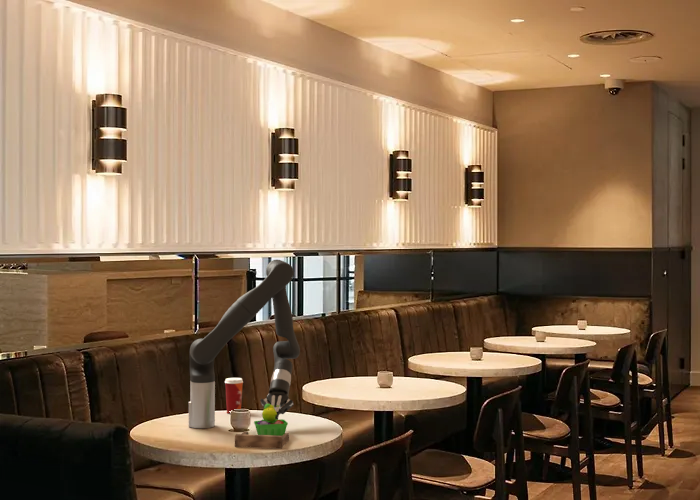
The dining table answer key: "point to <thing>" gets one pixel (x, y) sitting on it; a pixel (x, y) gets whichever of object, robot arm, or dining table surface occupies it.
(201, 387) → the robot arm
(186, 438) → the dining table surface
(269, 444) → the frame
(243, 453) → the dining table surface
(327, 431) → the dining table surface
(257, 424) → the fruit basket
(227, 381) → the paper cup
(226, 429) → the dining table surface
